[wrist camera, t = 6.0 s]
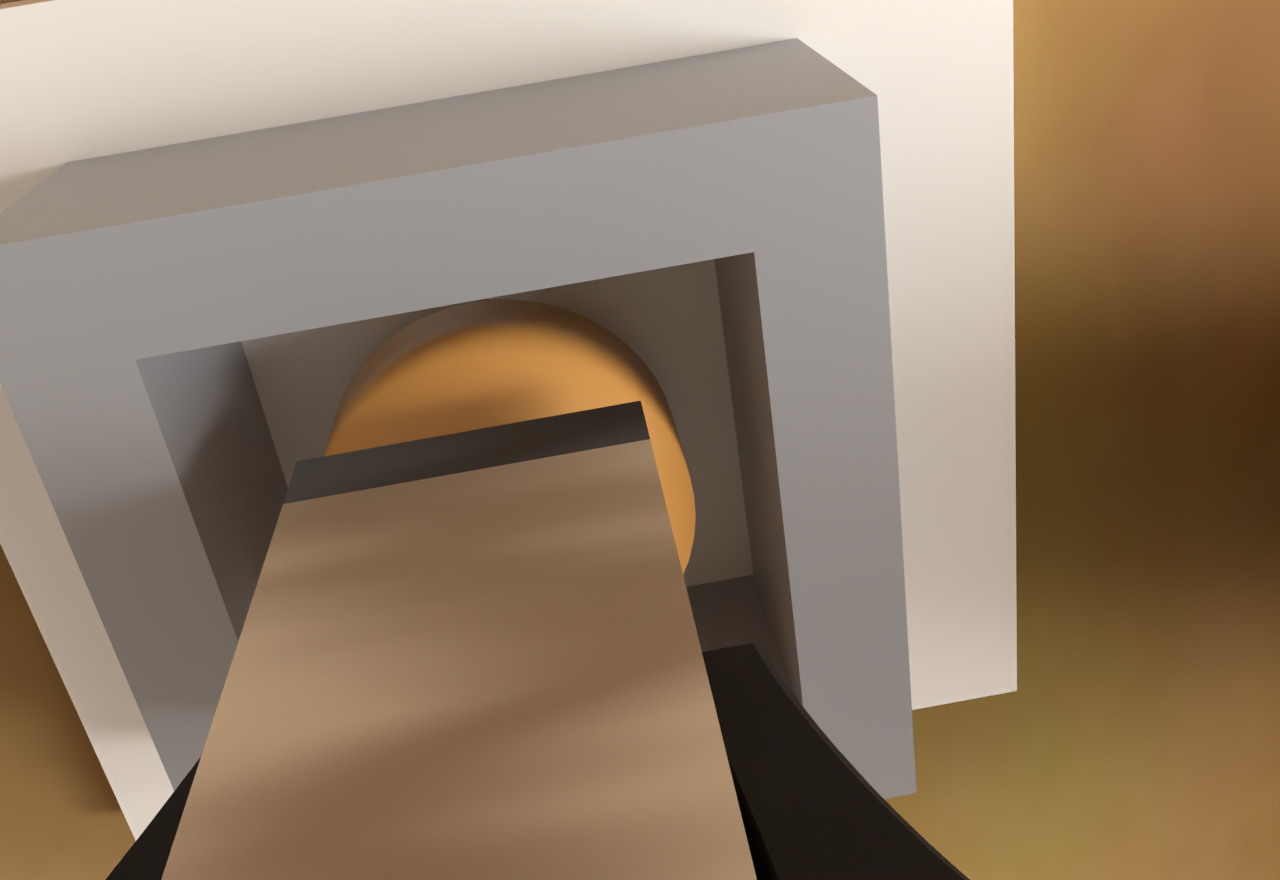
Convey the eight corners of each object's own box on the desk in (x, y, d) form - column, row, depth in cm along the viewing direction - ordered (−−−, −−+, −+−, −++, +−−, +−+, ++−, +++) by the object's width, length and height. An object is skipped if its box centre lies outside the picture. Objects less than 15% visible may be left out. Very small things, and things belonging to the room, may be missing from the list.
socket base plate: (984, -161, 17) (1159, -157, 12) (997, 657, 23) (1114, 855, 19) (-187, 35, 16) (-446, 112, 12) (154, 811, 23) (69, 1050, 18)
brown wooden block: (640, 400, 14) (822, 1153, 6) (685, 675, 16) (870, 1531, 8) (296, 460, 14) (22, 1306, 6) (381, 730, 16) (256, 1654, 8)
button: (652, 271, 17) (669, 320, 15) (697, 574, 19) (715, 647, 17) (289, 333, 17) (264, 391, 15) (377, 632, 19) (365, 711, 17)
